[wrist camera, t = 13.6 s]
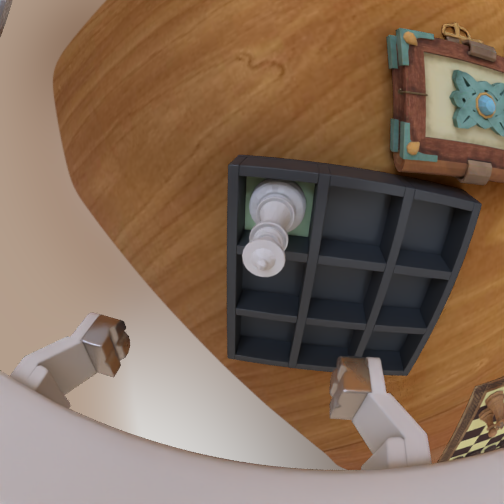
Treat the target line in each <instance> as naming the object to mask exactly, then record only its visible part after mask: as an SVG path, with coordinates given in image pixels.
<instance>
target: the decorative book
mask: <svg viewBox="0 0 504 504" xmlns="http://www.w3.org/2000/svg"><path fill="white" fill-rule="evenodd" d="M448 26H451V27H454V28H455V34H453V33H449V32H445V28H446V27H448ZM459 29H462V30H463V31H465V32H466V33H467V36H468V38H467V37H464V36H460V30H459ZM442 33H443V35H444V36H446V40H443V39H439V38H434V34H430V33H425V32H420V31H414V30H408V29H402V28H399V29H397V30H396V36H393V35H389V36H387V37H386V38H387V49H388V61H389V69H392V78H393V119H391V133H390V150H391V151H392V152H393V157H394V164H395V167H396V169H397V171H399V172H409V173H422V174H433V175H444V176H453V177H454V178H456V179H457V180H458V181H460V182H461V183H468V184H477V185H485V184H487V182H488V181H493V182H500V183H504V58H503V57H501V56H498V55H496V51H495V49H494V48H493V47H490V46H487V45H485V44H484V43H483V41H481V40H477V39H471V37H470V34H469V32H468V31H467V30H466V29H465V28H463V27H460V26H459V25H458V23H454V24H445V25H443V28H442Z"/></svg>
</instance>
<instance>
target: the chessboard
mask: <svg viewBox="0 0 504 504" xmlns="http://www.w3.org/2000/svg"><path fill="white" fill-rule="evenodd" d="M500 448H504V377H502V378H499V379H496V380H494V381H491V382H488V383H485V384H482V385H479V386H476V387H475V388H474V391H473V393H472V396H471V398H470V400H469V403H468V405H467V407H466V409H465V411H464V414H463V416H462V418H461V420H460V422H459V424H458V426H457V428H456V430H455V432H454V434H453V436H452V438H451V440H450V441H449V443H448V445H447V447H446V449H445V450H444V452H443V454H442V456H441V457H440V459H439V461H438V462H437V463H439V462H445V461H450V460H456V459H461V458H465V457H470V456H474V455H478V454H482V453H486V452H490V451H493V450H497V449H500Z"/></svg>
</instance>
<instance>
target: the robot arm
mask: <svg viewBox="0 0 504 504" xmlns="http://www.w3.org/2000/svg"><path fill="white" fill-rule="evenodd" d="M125 329H126V326H125V323H124V321H121V320H118V319H114V318H111V317H108V316H104V315H100V314H97V313H94V312H92V313H89V314H88V315H87V316H86V318H85V319H84V320H83V321H82V323H81V324H80V325H79V327H78V328H77V329H76V330H75V331H74V333H73V334H72V335H71V337H65V338H63V339H61V340H59V341H56V342H54V343H52V344H50V345H48V346H46V347H44V348H41V349H39V350H38V351H35V352H33V353H31V354H29V355H26V356H25V357H24V358H23V359H22V360H21V362H20V363H19V364H18V366H17V367H16V368H15V370H14V371H13V372H12V374H11V375H10V376H9V375H7V374H5V373H4V372H2V371H1V370H0V504H504V448H500V449H497V450H493V451H490V452H486V453H482V454H478V455H474V456H470V457H465V458H461V459H456V460H450V461H445V462H439V463H433V464H432V463H431V456H430V449H429V443H428V437H427V433H426V432H425V431H424V430H423V429H422V428H421V427H420V426H419V425H418V424H417V422H416V421H415V420H414V419H413V418H412V417H411V416H410V415H409V414H408V412H407V411H406V410H405V409H404V408H403V407H402V406H401V405H400V404H399V402H398V401H397V400H396V399H395V398H394V397H393V396H392V395H391V394H390V393H386V387H385V381H384V375H383V370H382V364H381V360H380V358H374V357H357V356H341V355H340V356H339V357H338V359H337V362H336V366H337V368H336V369H334V370H333V373H332V376H331V380H330V395H331V396H332V399H331V402H330V418H331V419H346V420H352V422H353V424H354V425H355V427H356V429H357V430H358V432H359V433H360V435H361V436H362V438H363V440H364V441H365V443H366V444H367V446H368V447H369V449H370V451H371V452H372V454H373V455H372V456H371V457H370V458H369V459H368V460H367V461H366V462H365V463H364V464H363V465H362V466H361V470H313V469H296V468H285V467H276V466H266V465H259V464H252V463H246V462H239V461H234V460H228V459H223V458H217V457H213V456H208V455H203V454H199V453H194V452H190V451H186V450H182V449H178V448H175V447H171V446H168V445H164V444H161V443H158V442H154V441H151V440H148V439H145V438H142V437H139V436H136V435H133V434H130V433H127V432H124V431H122V430H119V429H116V428H114V427H111V426H108V425H106V424H103V423H101V422H98V421H96V420H94V419H91V418H89V417H87V416H84V415H82V414H80V413H77V412H75V411H73V410H71V409H69V407H70V403H69V401H68V400H67V398H66V397H65V396H64V395H65V394H67V393H68V392H70V391H71V390H73V389H74V388H75V387H77V386H79V385H80V384H82V383H83V382H84V381H86V380H87V379H89V378H90V377H92V376H93V375H95V374H96V373H97V372H98V373H101V374H104V375H107V376H111V377H114V376H115V374H116V373H117V371H118V370H119V368H120V366H121V364H120V360H122V359H124V358H125V357H126V355H127V354H128V351H129V348H130V339H129V336H128V335H127V334H126V333H125V332H124V330H125Z"/></svg>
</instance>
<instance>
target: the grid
mask: <svg viewBox="0 0 504 504" xmlns="http://www.w3.org/2000/svg"><path fill="white" fill-rule="evenodd" d="M266 178H270V179H280V180H290V181H295V182H296V183H297V184H298V185H299V186H300V187H301V189H302V190H303V192H304V195H305V198H306V210H305V214H304V218H303V220H302V222H301V223H300V225H299V226H297V227H296V228H295V229H294V230H292V231H290V232H287V233H288V245H287V248H286V249H285V251H284V252H285V259H286V260H285V264H284V267H283V268H282V270H281V271H280V272H279V273H277V274H276V275H274V276H270V277H260V276H256V275H254V274H252V273H251V272H250V271H249V270H248V269H247V268H246V267H245V265H244V263H243V258H242V254H243V250H244V248H245V246H246V245H247V244H248V243H249V242H250V240H249V236H250V232H251V230H252V228H253V227H254V226H255V225H256V223H255V222H254V221H253V219H252V217H251V214H250V210H249V203H250V198H251V195H252V193H253V191H254V189H255V187H256V186H257V185H258V184H259V183H260V182H262V181H263V180H265V179H266ZM481 205H482V204H481V203H480V202H478V201H477V200H476V199H475V198H473V197H472V196H471V195H469V194H468V193H467V192H466V191H464V190H462V189H458V188H454V187H450V186H446V185H442V184H438V183H433V182H429V181H424V180H420V179H415V178H410V177H405V176H400V175H395V174H389V173H384V172H378V171H373V170H367V169H360V168H354V167H348V166H341V165H334V164H327V163H319V162H311V161H302V160H294V159H284V158H274V157H262V156H250V155H238V156H237V157H236V158H235V159H234V160H233V161H232V162H231V163H230V164H229V165H228V206H227V354H228V358H230V359H236V360H242V361H248V362H254V363H261V364H268V365H275V366H282V367H290V368H298V369H307V370H316V371H327V372H333V370H334V369H336V368H337V366H336V362H337V359H338V357H339V356H340V355H341V356H357V357H374V358H380V360H381V364H382V370H383V375H402V376H407V375H408V374H409V372H410V370H411V369H412V367H413V365H414V364H415V362H416V360H417V358H418V357H419V355H420V353H421V351H422V349H423V348H424V346H425V344H426V342H427V340H428V338H429V336H430V334H431V333H432V331H433V329H434V327H435V325H436V323H437V321H438V319H439V316H440V314H441V312H442V310H443V308H444V306H445V304H446V302H447V299H448V297H449V295H450V293H451V290H452V288H453V286H454V283H455V281H456V278H457V276H458V273H459V271H460V268H461V266H462V263H463V261H464V258H465V255H466V252H467V250H468V247H469V244H470V241H471V238H472V235H473V232H474V229H475V226H476V223H477V219H478V216H479V212H480V209H481Z"/></svg>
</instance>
